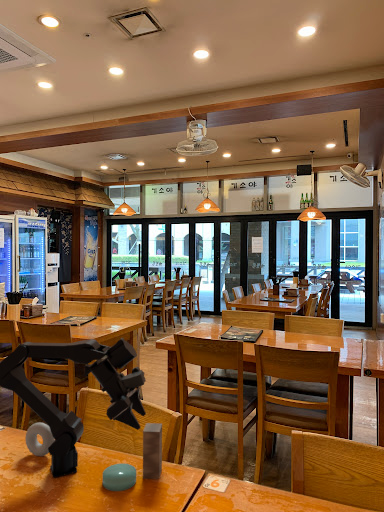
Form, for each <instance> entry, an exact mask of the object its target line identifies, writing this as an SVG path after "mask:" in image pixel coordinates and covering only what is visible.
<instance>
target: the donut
mask: <svg viewBox="0 0 384 512" xmlns="http://www.w3.org/2000/svg"><path fill="white" fill-rule="evenodd" d="M38 436H40V437H41V438H42V443H40V442H39V440H38ZM24 440H25V445H26V447H27V449H28V450H29V452H30V453H31V454H32V455H34V456H36V457H43V456H46V455H48V454H49V451H48V447H49V446H50V445H51V444H52V443H53V442H54V440H55V439H54V438H53V436H52V433H51V430H50V427H49V426H48V424H47V423H46V422H35V423H33V424H31V426H29V427H28V429H27V431H26V433H25V439H24Z"/></svg>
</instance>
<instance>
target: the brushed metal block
mask: <svg viewBox="0 0 384 512" xmlns="http://www.w3.org/2000/svg"><path fill="white" fill-rule="evenodd" d="M142 430H143V431H142V479H144V480H146V479H147V480H149V479H150V480H160V478H161V473H162V469H163V460H162V459H163V423H157V422H156V423H154V422H151V423H149V422H146V423H145V426H144V428H143V429H142Z"/></svg>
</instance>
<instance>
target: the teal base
mask: <svg viewBox="0 0 384 512" xmlns="http://www.w3.org/2000/svg"><path fill="white" fill-rule="evenodd" d="M136 482H137V468H136V467H135V466H134V465H131V464H129V463H115V464H113V465H110V466H108V467H106V468H105V469H104V470H103V472H102V486H103V488H105V490H108V491H112V492H122V491H123V492H124V491H126V490H128V489H131V488H132V487H134V486H135V484H136Z"/></svg>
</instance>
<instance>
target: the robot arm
mask: <svg viewBox="0 0 384 512" xmlns="http://www.w3.org/2000/svg"><path fill="white" fill-rule="evenodd" d="M105 356H106V357H105ZM137 356H138V354H137V351H136V349H135V348H134V346H133V345H132V344H130V343H129V341H126V340H125V339H124V337H121V338H119V340H118V341H117V342H116V343H114V344H113V345H112V346H108V345H104V344H101V343H99V341H98V340H96V339H93V338H90V339H84V340H83V339H82V340H80V341H79V340H78V341H73V342H69V343H68V342H62V343H61V342H31V341H25V342H23V343H21V344H18V346H17V347H16V348H15V349H14V350H13V351H11V352H10V354H9V355H7V356H6V357H5V358H3V360H0V387H1V388H2V389H5V390H9V391H11V392H13V393H14V394H15V395H16V396H18V397H19V398H20V399H21V401H23V403H24V404H26V405H27V406H28V407H29V408H30V409H31V410H32V411H33V412H34V413H36V415H37V416H38V417H39V418H40V419H42V421H43V422H44V423H45V424H47V425H48V426H49V427H50V430H51V433H52V436H53V438H54V442H53V443H52V444H51V445H50V446H49V447H48V451H49V453H48V454H49V455H50V456H51V457H50V458H51V459H50V460H51V462H50V463H51V464H50V466H49V469H50V471H51V474H52V478H59V477H63V476H66V475H71V474H75V473H78V469H77V467H78V463H79V462H78V460H79V458H78V456H79V453H78V450H77V448H76V446H75V445H76V444H77V442H78V441H79V439H80V438H81V437H82V435H83V433H84V429H85V428H84V426H85V425H84V424H83V422H82V418H80V417H79V416H77V414H76V413H75V412H74V411H73V410H70V411H69V412H68V413H67V412H64V411H61V410H60V408H58V406H56V405H55V404H54V403H53V402H52V401H51V400H50V399H49V398H48V397H47V396H46V395H45V394H44V393H43V392H42V391H40V390H39V389H38V387H36V385H34V384H33V383H32V381H30V380H29V379H28V377H27V375H26V372H25V368H23V364H24V363H25V362H26V361H27V360H28V359H29V358H35V359H65V360H69V361H71V362H75V363H80V364H85V365H84V373H83V376H84V377H86V376H88V375H89V374H90V373H91V374H92V375H93V376H94V378H95V379H96V380H97V382H98V383H99V385H100V386H101V387H102V388H101V389H100V390H101V391H102V393H104V392H106V394H107V395H108V397H110V401H109V402H110V403H111V404H110V405H109V406H108V407H107V409H106V413H105V414H106V416H107V417H108V419H109V420H110V421H112V420H113V421H117V422H119V423H122V424H123V425H126V426H128V427H130V428H133V429H135V430H140V429H141V425H140V422H139V421H138V419H137V417H136V415H135V413H134V412H133V411H135V412H136V413H138V414H139V415H140V416H142V417H144V416H146V414H147V412H146V410H145V407H144V406H143V403H142V400H141V397H140V393H141V392H140V390H141V387H143V386H145V382H146V376H145V372H144V371H143V369H140V367H139V366H136V367H133V368H132V369H131V373H129V374H126V375H125V374H124V373H123V372H118V371H117V369H123V368H124V367H125V366H126V365H128V364H129V363H131V362H132V361H133V360H135V358H137ZM104 357H105V358H104ZM101 359H102V360H101ZM93 361H94V362H93ZM92 362H93V363H92ZM90 363H91V364H90Z"/></svg>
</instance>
